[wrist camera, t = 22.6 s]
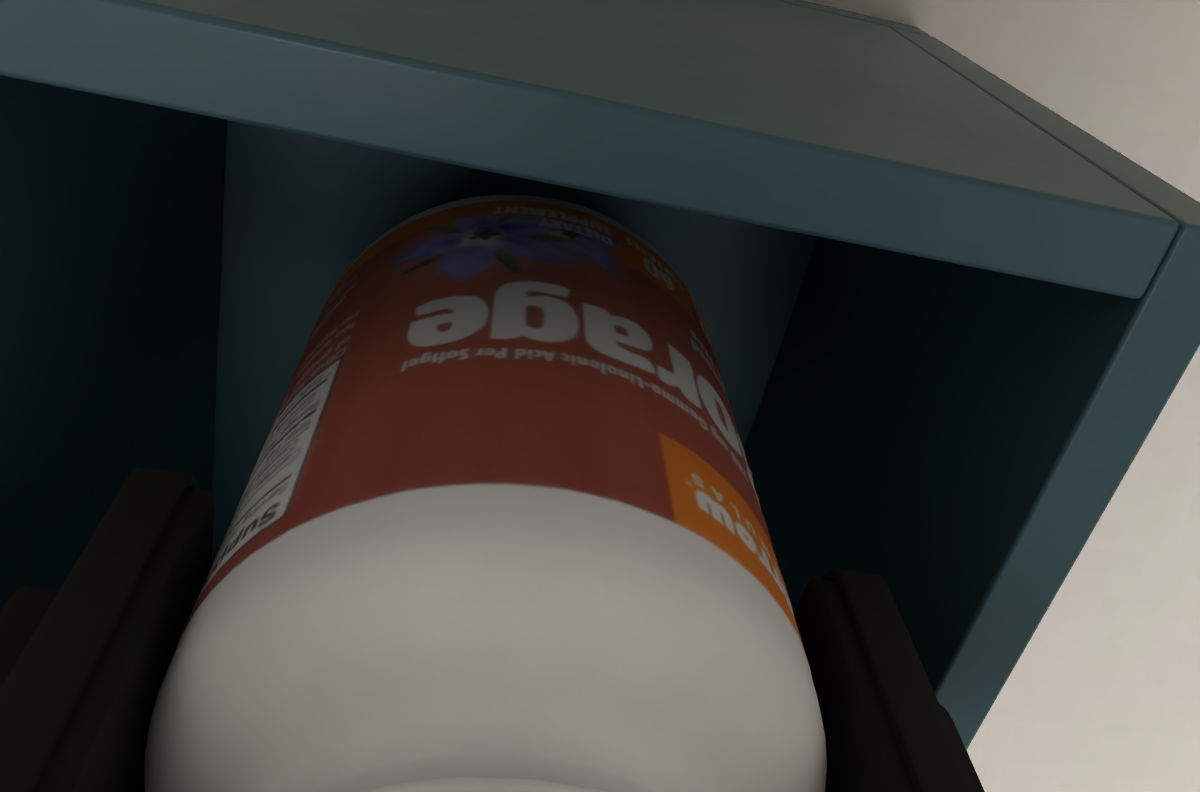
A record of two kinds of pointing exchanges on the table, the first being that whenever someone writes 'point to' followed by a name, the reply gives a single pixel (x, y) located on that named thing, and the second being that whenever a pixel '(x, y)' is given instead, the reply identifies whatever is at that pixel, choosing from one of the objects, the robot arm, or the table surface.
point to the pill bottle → (496, 541)
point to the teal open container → (636, 200)
